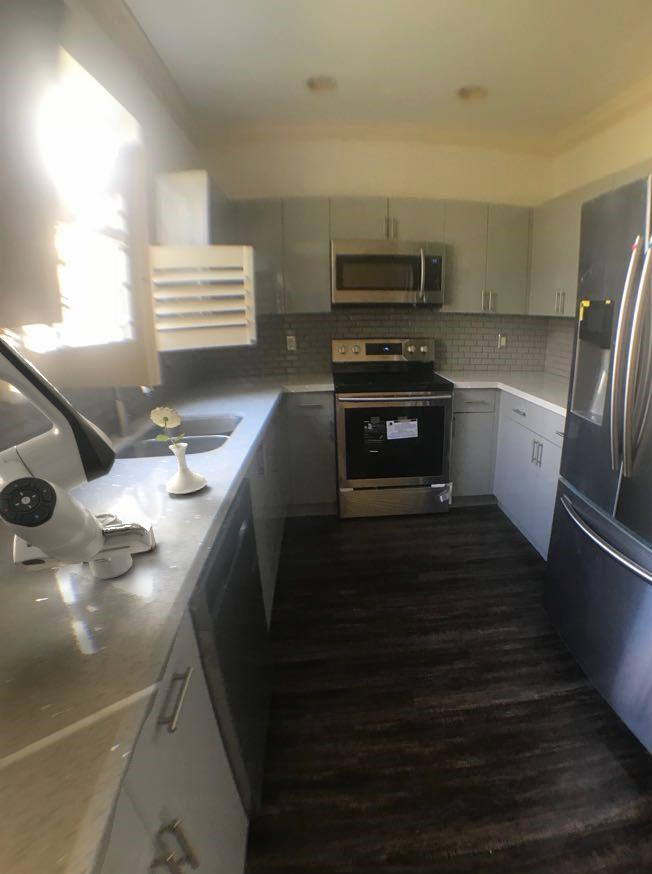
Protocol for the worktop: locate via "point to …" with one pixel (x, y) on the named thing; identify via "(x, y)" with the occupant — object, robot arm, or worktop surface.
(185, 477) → the flower in vase
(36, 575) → the worktop surface
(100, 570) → the can
